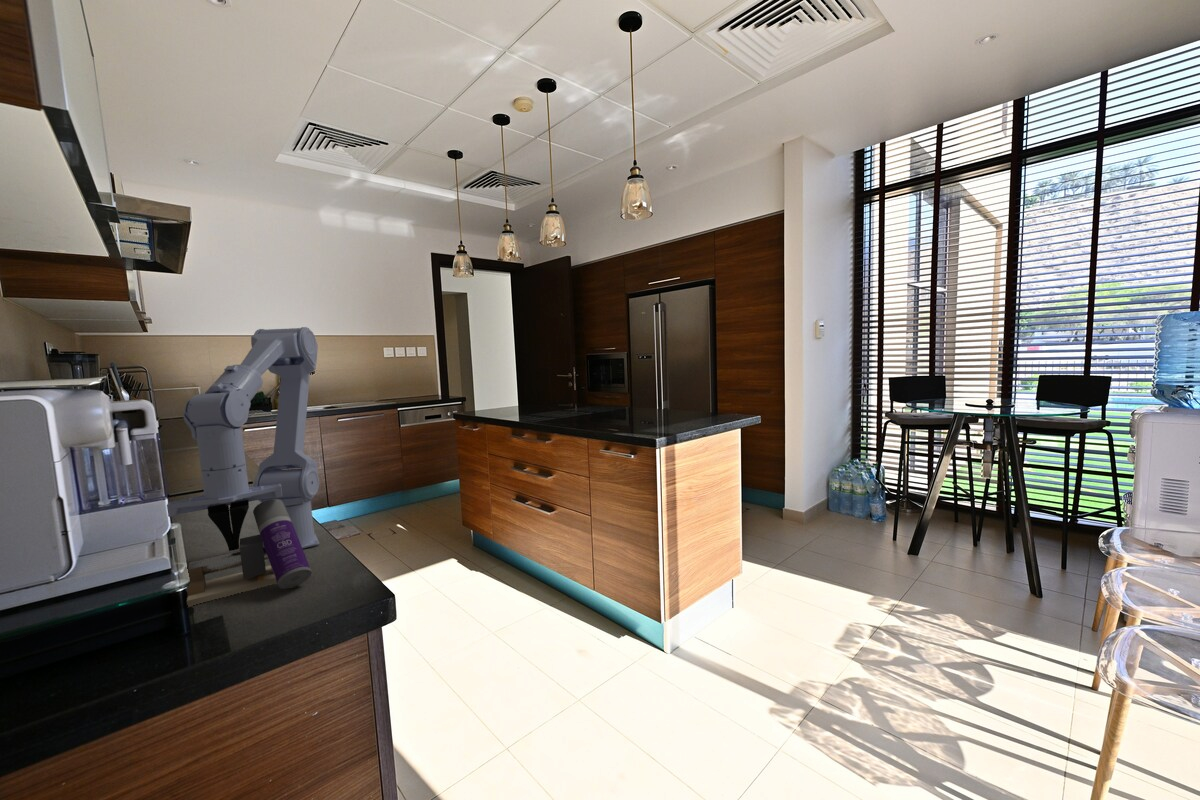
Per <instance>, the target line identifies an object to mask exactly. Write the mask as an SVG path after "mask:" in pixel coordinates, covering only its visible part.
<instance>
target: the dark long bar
mask: <svg viewBox="0 0 1200 800" xmlns="http://www.w3.org/2000/svg"><path fill="white" fill-rule="evenodd" d="M263 551H264V559H265V561H267V560H269V559H268V556H267V553H266V550H265V547H264V545H263ZM188 565H189V569H193V568H197V567H202V573H203V575H208V574H213V573H217V572H221V571H225V570H230V569H234V568H238V567H242V563H241V554H240V550H239V551H234V552H230V553H226V554H222V555H220V554H219V555H217V556H212V557H208V558H203V559H199V560H194V561H190V562H189V563H188Z"/></svg>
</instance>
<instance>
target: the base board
mask: <svg viewBox="0 0 1200 800" xmlns="http://www.w3.org/2000/svg"><path fill="white" fill-rule="evenodd" d="M186 565H187V569H188V573H189V577H190V584H189V586H188V587H187V586H186V593H187V598H186V606H187V605H188V607H187V608H190V607H194V606H193V605H195V606H197V605H196V604H198V605H200V604H199V603H202V604H204V603H203V602H206V601H209V600H213V601H215V600H214V599H217V600H219V599H218V598H221V599H223V598H222V597H224V598H228V597H231V596H230V595H232V596H235V595H234V594H236V595H238V594H237V593H239V594H242V593H241V592H243V593H246V591H247V592H250V591H253V590H258V589H262V588H265V587H269V586H272V584H273V585H277V581H276V578H275V575H274V573H273V570H272V567H271V564H269V565H265V567H266V573H264V574H260V575H256V576H252V577H248V578H244V579H243V571H242V572H238V573H233V574H229V575H225V576H220V577H217V578H212V579H210V580H206V576H205V575H206V574H205V575H203V573H202V567H197V568H193V569H189V564H186ZM268 585H269V586H268ZM261 587H262V588H261ZM257 588H258V589H257ZM227 596H228V597H227ZM206 603H207V602H206Z"/></svg>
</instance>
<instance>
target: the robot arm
mask: <svg viewBox="0 0 1200 800" xmlns="http://www.w3.org/2000/svg"><path fill="white" fill-rule="evenodd" d="M250 342H251V344H250V345H251V349H250V350H249V351H248V353H247V354H246V356H245V357H244V359H243V360H242V361H241V363H240V364H233V365H227V366H226V367H225V368H224V370H223V372H222V373H221V374H220V376H219V377H218V378H217V379H216V380H215V381H214V382H213V383H212V384H211V385H210V386H209V387H208V388H207V390H206V391H205V392H204V393H198V394H195V395H193V396H192V398H190V399H188V400H187V402H186V403H185V406H184V412H183V413H182V417H183V420H184V423H185V424H186V425H187V427H188V428H189V430H190V432H191V438H192V439H193V440H194V441H195V442H196V443H197V449H198V450H197V451H198V457H199V464H200V465H199V466H200V472H201V473H200V474H201V479H202V486H203V487H202V488H203V494H202V495H198V496H193V497H189V498H184V499H178V500H173V501H168V503H167V504H166V509H167V515H168V516H167V517H169V518H171V517H176V516H178V515H182V514H188V513H193V512H199V511H203V510H204V511H205V510H207V515H208V517H209V519H210V520H211V521H212V522H213V524H214V525H215V526H216V527H217V529H218V530H219V532H220V534H222V536H223V538H224V541H225V542H226V545H227V547H228V551H229V552H232V551H236V550H240V536H241V530H242V527H243V524H244V521H245V519H246V515H247V514H248V511H249V508H250V502H254V501H259V502H260V503H262V502H264V501H266V500H270V499H279V500H281V501H282V502H283V503H284V506H285V508H286V510H287V512H288V515H289V517H290V519H291V521H292V524H293V526H294V529H295V531H296V534H297V536H298V539H299V541H300V544H301V546H302V549H303V550H304V549H306V548H311V547H315V546H318V545H319V544H320V541H319V539H318V536H317V534H316V532H315V529H314V520H313V511H312V510H313V509H312V501H311V500H312V499H313V498H314V497H315V496H316V495H317V493H318V492H319V488H320V477H319V470H318V463H317V461H315V460H314V458H312V457H310V456H309V455H307V454H305V451H304V449H305V439H306V438H305V437H306V425H307V415H308V413H307V412H308V399H309V389H310V388H309V387H310V375H311V374H312V373H313V372H314V371H316V369H317V362H318V361H317V360H318V342H317V339H316V336H315V333H314V332H313V331H312V330H311V329H310V328H309V327H306V326H304V327H303V326H302V327H297V328H296V327H294V328H292V327H291V328H275V329H274V328H273V329H272V328H271V329H270V328H269V329H264V328H259V329H257V330H255V332H254V333H253V334H252V335H251V336H250ZM266 371H269V373H272V374H274V375H277V376H279V378H280V384H279V392H278V402H277V415H276V424H275V433H274V442H273V443H274V445H273V452H272V453H271V455H269V456H268V457H266V458H265V459H264V460H263V461H261V462H260V463H259V464H258V465H259V466H258V472H257V474H256V477H255V479H254V481H253V486H249V480H248V479H249V477H248V470H247V464H246V463H247V461H246V454H245V447H244V437H243V431H242V426H243V425H244V424H245V423H247V421H248V418H249V411H250V408H251V405H252V403H251V401H252V400H253V399H254V398H255V396H256V394H257V393H258V392H259V391H260V389H261V388H262V386H263V377H262V375H264V374H265V373H266Z"/></svg>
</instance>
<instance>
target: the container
mask: <svg viewBox="0 0 1200 800" xmlns="http://www.w3.org/2000/svg"><path fill="white" fill-rule="evenodd" d="M252 513H253V517H254V519H255V523H256V527H257V529H258V533H259V534H260V536H261V539H262V542H263V546H264V547H265V550H266V553H267V556H268V559H267V560H268V561H269V565H271V567H272V570H273V573H274V575H275V578H276V581H277V583H276V585H277V586H278V588H279V589H282V590H288V589H294V588H295V587H298V586H300V585H303V583H305V582H306V581H307V580H309V579H310V578H311V576H312V574H313V573H312V569H311V567H310V565H309V562H308V560H307V557H306V553H305V552H304V548H303V549H302V546H301V544H300V541H299V539H298V536H297V534H296V531H295V529H294V526H293V524H292V521H291V519H290V517H289V515H288V512H287V510H286V508H285V506H284V503H283V502H282V501H281V500H279V499H270V500H266V501H264V502H260V503H259V504H257V505H256V506H255V507H254V509H253V510H252Z"/></svg>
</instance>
